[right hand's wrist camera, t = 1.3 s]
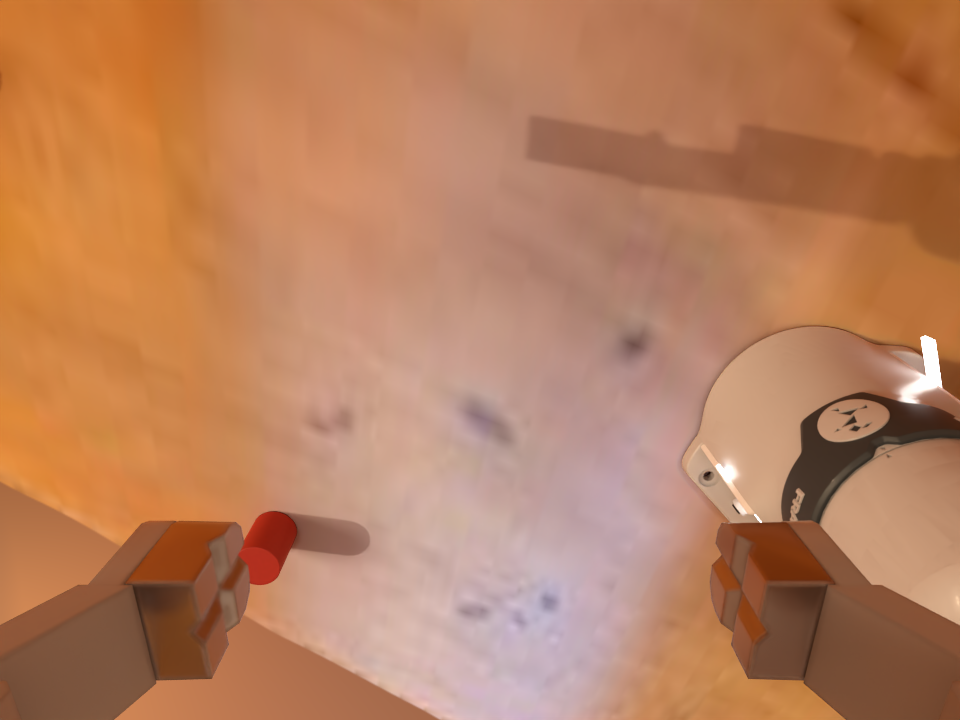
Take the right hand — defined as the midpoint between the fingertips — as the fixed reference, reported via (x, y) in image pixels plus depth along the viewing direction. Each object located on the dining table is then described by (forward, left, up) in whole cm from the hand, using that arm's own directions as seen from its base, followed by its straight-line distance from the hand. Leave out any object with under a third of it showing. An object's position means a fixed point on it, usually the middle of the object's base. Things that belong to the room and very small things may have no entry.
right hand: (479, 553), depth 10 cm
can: (-12, +27, -34) cm, 45 cm away
